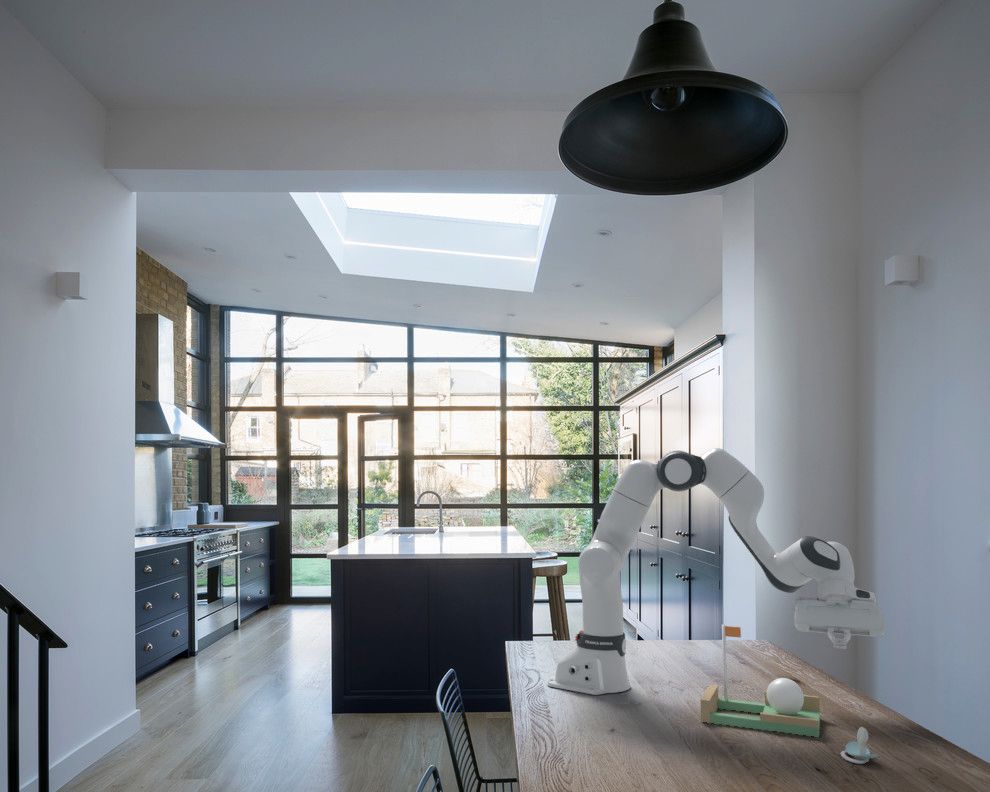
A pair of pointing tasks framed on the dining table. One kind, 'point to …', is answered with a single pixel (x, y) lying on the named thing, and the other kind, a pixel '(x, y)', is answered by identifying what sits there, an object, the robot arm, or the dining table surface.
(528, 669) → the dining table surface
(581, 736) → the dining table surface
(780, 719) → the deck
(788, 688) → the ball
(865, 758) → the pacifier
